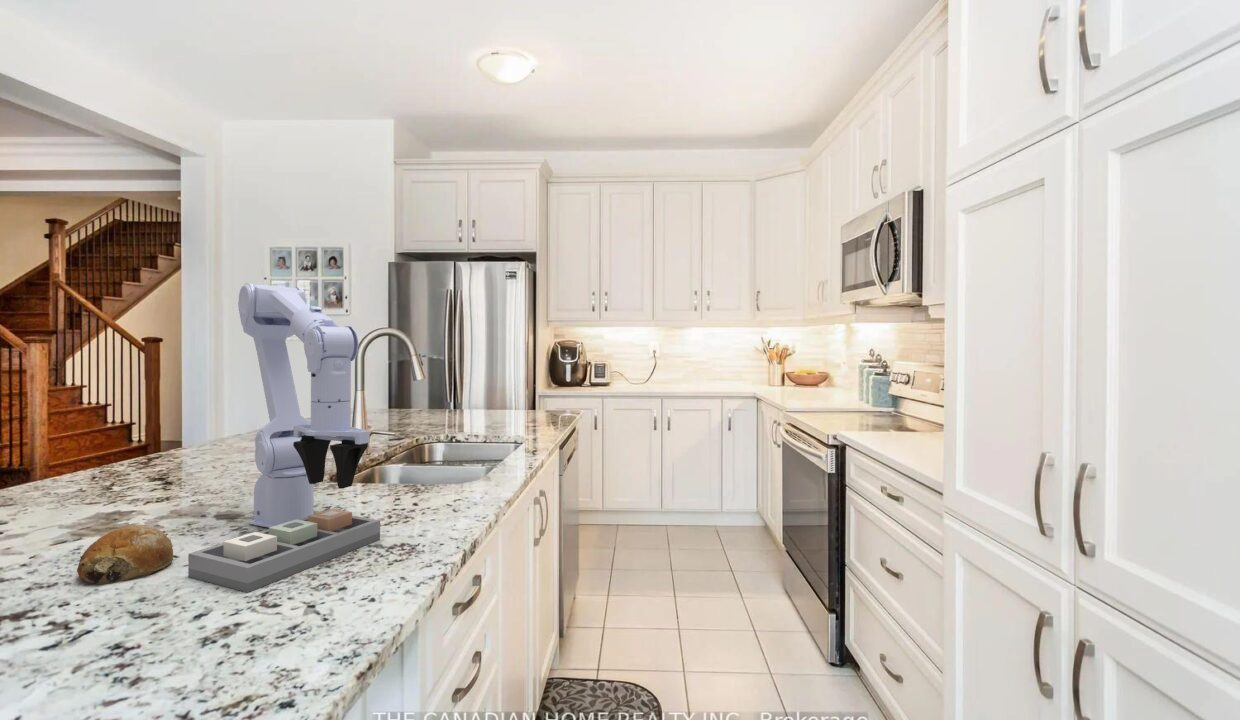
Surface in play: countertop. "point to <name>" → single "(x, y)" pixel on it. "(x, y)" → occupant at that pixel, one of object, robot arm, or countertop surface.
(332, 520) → the key terracotta
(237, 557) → the key offwhite
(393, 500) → the countertop surface
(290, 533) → the key sage
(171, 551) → the bread roll
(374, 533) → the grey compartment tray
